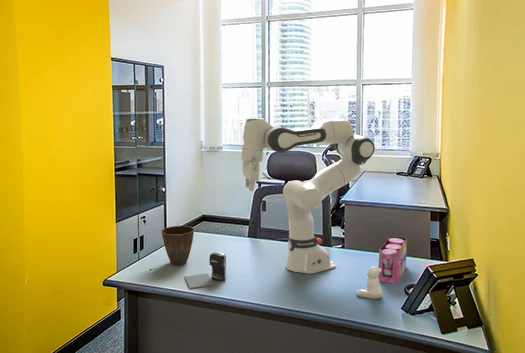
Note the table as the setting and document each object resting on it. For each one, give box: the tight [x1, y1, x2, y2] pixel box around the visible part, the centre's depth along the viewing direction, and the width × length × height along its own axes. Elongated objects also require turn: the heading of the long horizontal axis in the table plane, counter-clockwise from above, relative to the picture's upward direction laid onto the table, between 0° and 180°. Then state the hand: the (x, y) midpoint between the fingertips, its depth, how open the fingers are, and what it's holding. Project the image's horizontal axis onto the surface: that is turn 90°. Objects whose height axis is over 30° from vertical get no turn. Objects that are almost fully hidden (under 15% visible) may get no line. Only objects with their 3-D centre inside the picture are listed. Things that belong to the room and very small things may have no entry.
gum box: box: [377, 235, 408, 285], centre depth 187 cm, size 24×8×14 cm, turn 153°
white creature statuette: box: [355, 265, 383, 300], centre depth 166 cm, size 10×9×12 cm
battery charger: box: [209, 251, 227, 282], centre depth 184 cm, size 7×4×11 cm, turn 55°
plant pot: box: [161, 225, 195, 266], centre depth 205 cm, size 15×15×16 cm
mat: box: [184, 272, 215, 290], centre depth 183 cm, size 10×13×1 cm
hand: (249, 189), depth 184 cm, fingers open, 8 cm apart
